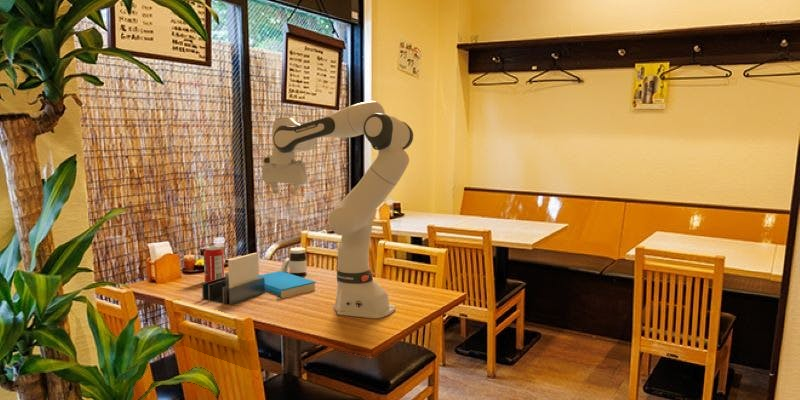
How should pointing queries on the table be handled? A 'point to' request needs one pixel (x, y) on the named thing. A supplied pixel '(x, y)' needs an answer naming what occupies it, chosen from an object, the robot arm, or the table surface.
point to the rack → (231, 290)
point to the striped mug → (296, 262)
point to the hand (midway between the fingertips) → (284, 194)
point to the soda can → (213, 263)
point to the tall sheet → (243, 269)
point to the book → (286, 284)
